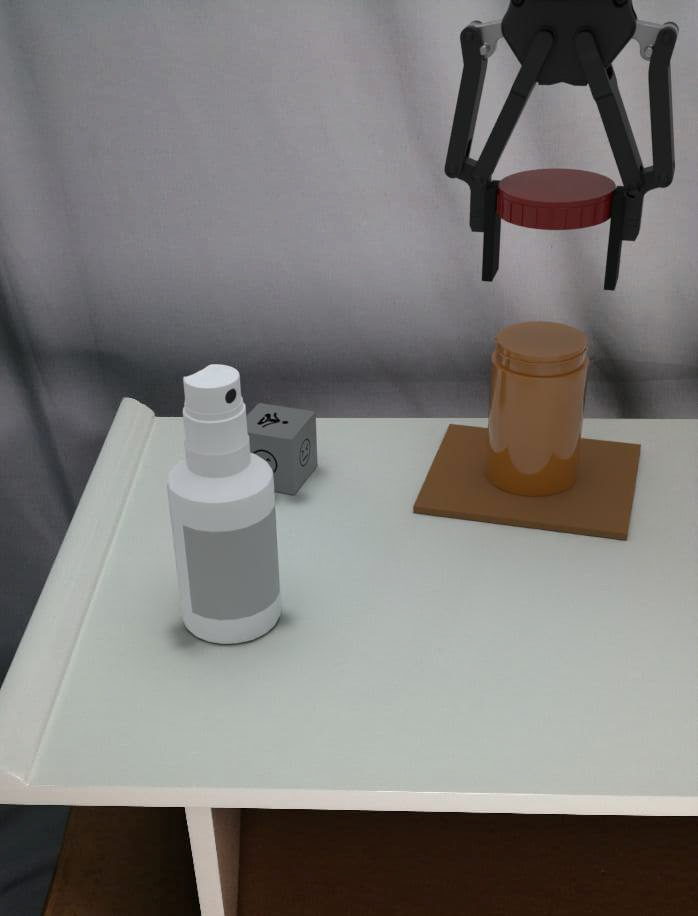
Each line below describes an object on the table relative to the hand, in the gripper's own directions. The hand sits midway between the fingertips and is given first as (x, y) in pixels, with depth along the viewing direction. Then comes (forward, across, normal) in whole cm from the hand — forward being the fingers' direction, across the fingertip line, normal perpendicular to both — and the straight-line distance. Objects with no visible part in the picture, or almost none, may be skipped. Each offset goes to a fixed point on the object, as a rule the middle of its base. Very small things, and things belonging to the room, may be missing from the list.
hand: (549, 278), depth 84 cm
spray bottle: (+17, -17, -23) cm, 33 cm away
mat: (+17, 0, 0) cm, 17 cm away
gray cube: (+17, -20, -4) cm, 27 cm away
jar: (+16, 0, 0) cm, 16 cm away
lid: (-6, 0, 0) cm, 6 cm away
